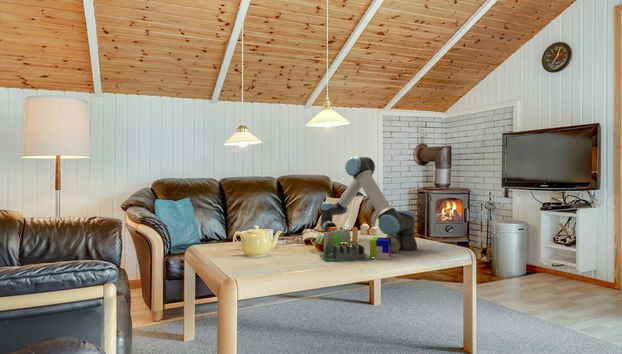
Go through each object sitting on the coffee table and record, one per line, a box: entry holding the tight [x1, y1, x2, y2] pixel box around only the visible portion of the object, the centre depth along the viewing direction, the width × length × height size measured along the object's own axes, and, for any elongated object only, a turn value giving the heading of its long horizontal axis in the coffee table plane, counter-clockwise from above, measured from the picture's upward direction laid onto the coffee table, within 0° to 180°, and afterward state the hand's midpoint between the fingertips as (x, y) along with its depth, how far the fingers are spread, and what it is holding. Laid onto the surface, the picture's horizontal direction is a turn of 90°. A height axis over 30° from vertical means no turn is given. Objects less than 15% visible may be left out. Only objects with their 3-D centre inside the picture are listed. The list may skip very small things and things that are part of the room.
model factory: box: [319, 226, 374, 263], centre depth 227 cm, size 26×15×16 cm, turn 100°
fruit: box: [385, 234, 401, 253], centre depth 243 cm, size 10×9×12 cm
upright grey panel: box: [323, 228, 351, 254], centre depth 236 cm, size 20×2×12 cm, turn 132°
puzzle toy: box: [369, 236, 392, 260], centre depth 231 cm, size 10×10×10 cm
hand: (338, 234), depth 246 cm, fingers closed
